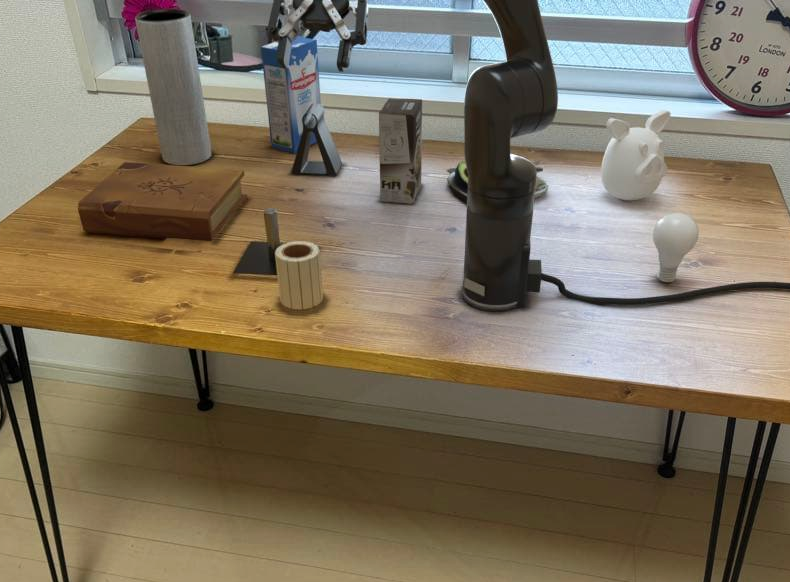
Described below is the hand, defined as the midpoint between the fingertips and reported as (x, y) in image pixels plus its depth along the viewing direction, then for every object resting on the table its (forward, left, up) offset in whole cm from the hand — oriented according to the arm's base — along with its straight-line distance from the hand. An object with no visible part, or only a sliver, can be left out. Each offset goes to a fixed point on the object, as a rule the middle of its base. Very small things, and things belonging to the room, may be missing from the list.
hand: (311, 67), depth 116 cm
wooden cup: (0, +18, -29) cm, 34 cm away
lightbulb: (-54, +6, -29) cm, 62 cm away
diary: (+30, -9, -29) cm, 43 cm away
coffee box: (-10, -23, -29) cm, 38 cm away
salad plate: (-27, -26, -29) cm, 48 cm away
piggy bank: (-52, -25, -29) cm, 65 cm away
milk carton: (+15, -47, -29) cm, 57 cm away
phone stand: (+8, -33, -29) cm, 45 cm away
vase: (+36, -37, -29) cm, 59 cm away
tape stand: (+7, +6, -29) cm, 30 cm away
